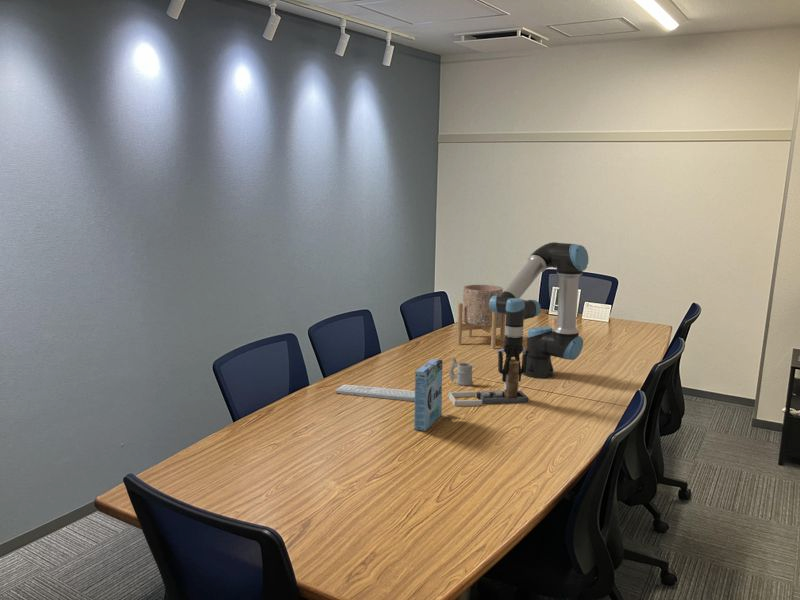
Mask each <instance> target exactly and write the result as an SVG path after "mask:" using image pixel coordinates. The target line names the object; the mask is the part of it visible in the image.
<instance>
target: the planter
mask: <svg viewBox="0 0 800 600" xmlns="http://www.w3.org/2000/svg"><path fill="white" fill-rule="evenodd" d="M503 291H504V288H503V287H501V286H498V285H491V284H468V285H464V286H463V293H462V294H463V297H462V302H457V303H458V304H457V306H458V307H457V330H456V331H457V334H456V335H457V336H456V344H457V345H459V346H460V345H462V333H463V331H467V338H472V337H473V335H472V334H473V331H475V330H482V331H484V332H487V333H488V334H491V335H490V336H491V337H490V349H491V350H492V349H493V350H495V349H496V339H497V329H499V328H500V333H499V336H500V337H499V341H500V342H504V341H505V335H506V334H505V323H506V314H499V313H495V312H492V311H491V310H490V308H489V301H490V299H491V297H492V296H497V295H498V296H500V295H501V294H502V293H503Z"/></svg>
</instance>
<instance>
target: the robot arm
mask: <svg viewBox="0 0 800 600" xmlns="http://www.w3.org/2000/svg"><path fill="white" fill-rule="evenodd" d="M588 264H589V253H588V251H587V249H586V247H585V246H583V245H582V244H576V243H566V242H554V241H552V242H549V243H546V244H544V245H542V246H540V247H538V248H537V249H536V250H534V251H533V252H532V253H531V254H530V255H529V256H528V258H527V263H525V265H524V266H523V267H522V268H521V270H520V271H519V272H518V273H517V274H516V275H515V277H514V278H513V279H512V280H511V282H510V283H509V284H508V285H507V287H506V288H505V289H503V293H502V294H501V295H500V296H498V295H497V296H492V297H491V299H490V301H489V308H490V310H491V311H492V312H495V313H499V314H506V315H505V335H504V341H503V342H504V344H503V345H504V346H503V347H502V349H497V350H496V353H497V355H498V357H497V359H498V363H497V367H498V368H497V369H498V370H497V371H498V373H499V374H501V375H502V376H501V377H502V378H501V379H502V382H503V389H504V391H505V390H508V374H507V371H508V367H509V361H510V360H511V358H515V359H516V360H517V361H519V373H518V387H519V386H520V384H519V383H520V382H521V380H522V375H524V376H525V377H530V378H536V379H546V378H551V377H553V376H554V372H555V371H554V367H553V362H552V359H551V358H552V357H554V358H560V359H563V360H568V361H573V360H576V359H577V358H579V356H580V354H581V353H582V351H583V347H584V340H583V337H582V336H580V335H579V334H580V333H579V332H580V331H579V330H578V329H577V328H576V327H577V326H576V325H577V313H578V310H577V309H578V298H579V297H578V296H579V295H578V294H579V278H580V276H582V275H583V272H584V271H585V270H586V269H587V268H588ZM548 268H553V269H554V268H555V269H556V274H557V275H558V276H559V279H558V281H559V282H558V299H557V300H558V301H557V319H556V326H555V328H553V327H551V326H535V327H530V328H528V331H527V336H526V338H527V339H526V341H527V342H526V348H524V347H523V341H524V340H523V339H524V337H523V335H524V322H525V321H524V320H527V319H533V318H535V317H537V316H539V315H540V313H541V310H542V309H541V304H540V302H539V301H538V300H536V299H528V300H525V299H523V298H521V297H522V296H523V295H524V294H525V292H526V291H528V288H529V287H530V286H531V285H532V284H533V282H535V280H536V279H537V277H538V276H539V275H540V274H541V273H544V272H545V270H547V269H548ZM504 353H505V360H504ZM521 353H522V357H521V358H520V355H521ZM520 359H521V360H520ZM503 361H504V362H503Z"/></svg>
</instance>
